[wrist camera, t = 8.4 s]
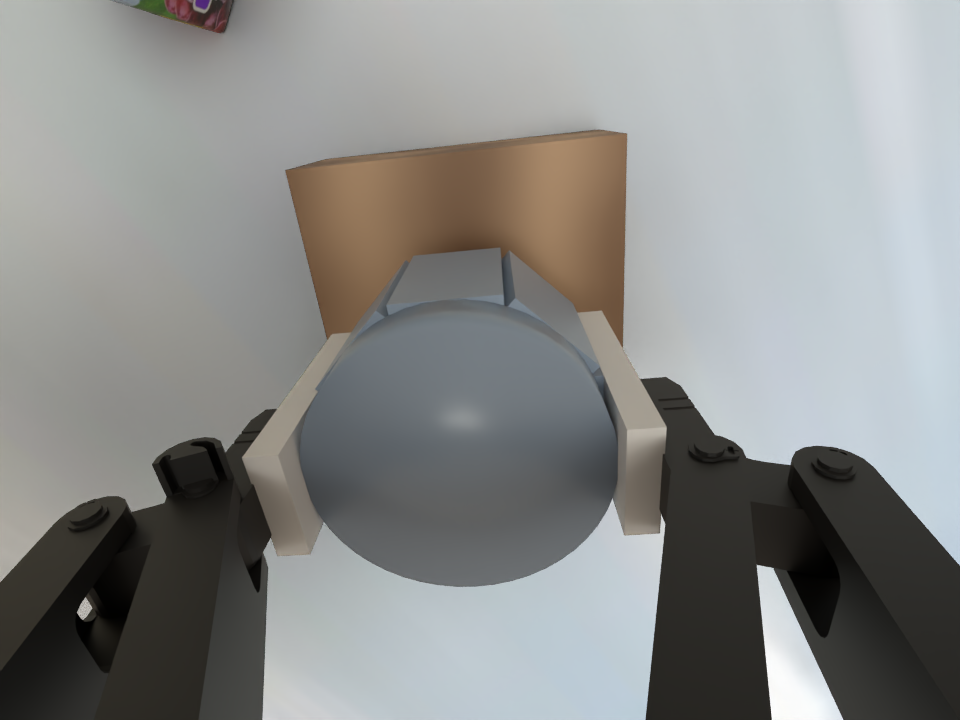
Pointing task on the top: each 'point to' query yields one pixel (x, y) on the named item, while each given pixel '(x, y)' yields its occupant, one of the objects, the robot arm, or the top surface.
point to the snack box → (188, 11)
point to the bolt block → (468, 216)
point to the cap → (462, 425)
